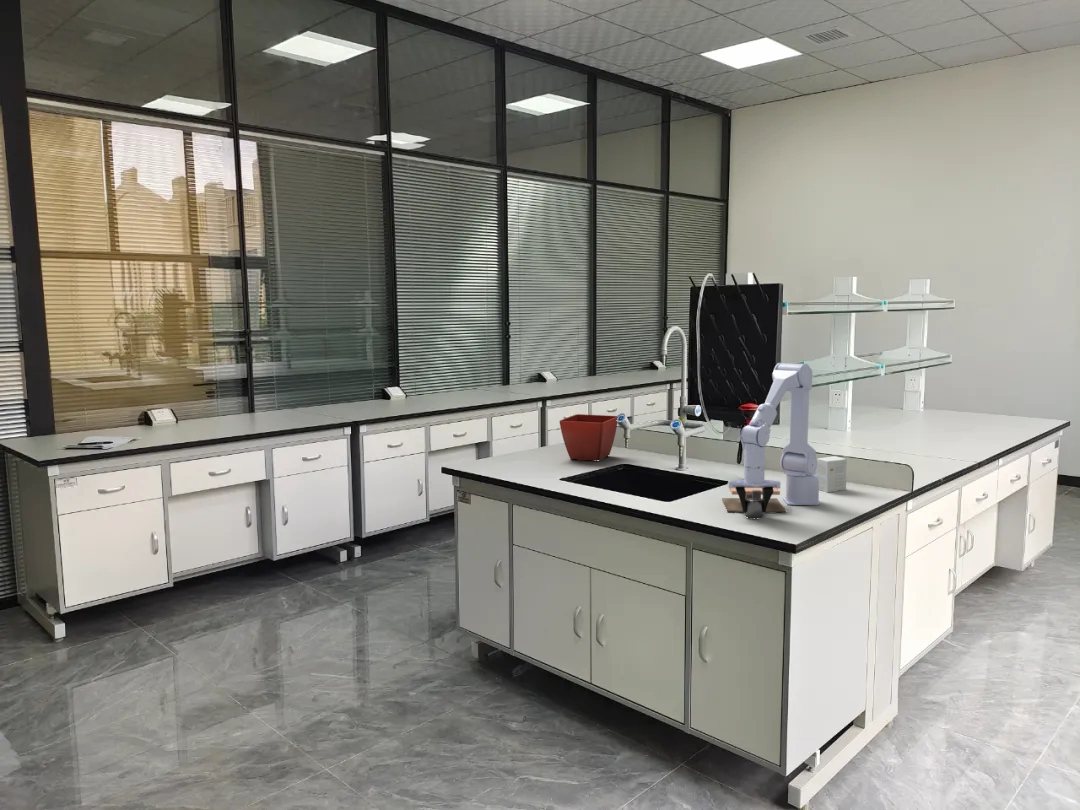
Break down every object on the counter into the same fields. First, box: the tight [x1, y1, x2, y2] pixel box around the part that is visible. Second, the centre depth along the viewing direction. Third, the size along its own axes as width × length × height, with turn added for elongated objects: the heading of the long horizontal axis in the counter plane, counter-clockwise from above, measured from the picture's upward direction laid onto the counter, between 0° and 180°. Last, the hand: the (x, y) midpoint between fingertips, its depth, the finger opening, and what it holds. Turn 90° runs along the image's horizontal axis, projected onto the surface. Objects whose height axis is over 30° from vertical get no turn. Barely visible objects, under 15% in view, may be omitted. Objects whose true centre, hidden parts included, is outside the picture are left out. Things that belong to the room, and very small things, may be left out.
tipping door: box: [727, 486, 781, 496], centre depth 236 cm, size 14×12×1 cm
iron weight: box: [744, 498, 764, 520], centre depth 224 cm, size 5×5×5 cm
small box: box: [815, 455, 848, 493], centre depth 254 cm, size 8×6×10 cm
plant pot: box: [559, 413, 619, 461], centre depth 317 cm, size 19×19×17 cm
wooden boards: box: [721, 490, 787, 513], centre depth 236 cm, size 17×15×6 cm
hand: (753, 512), depth 224 cm, fingers closed on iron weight, 5 cm apart
